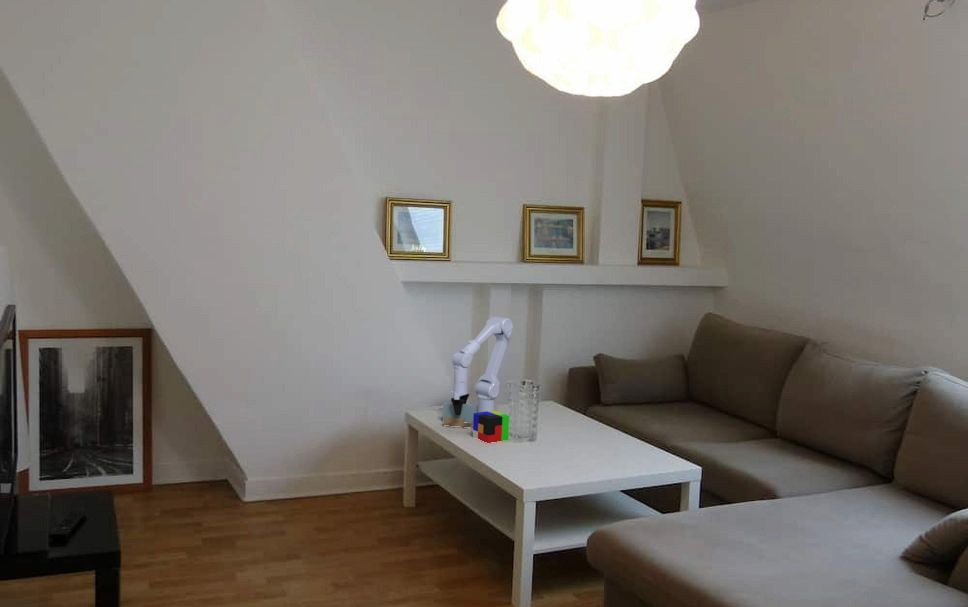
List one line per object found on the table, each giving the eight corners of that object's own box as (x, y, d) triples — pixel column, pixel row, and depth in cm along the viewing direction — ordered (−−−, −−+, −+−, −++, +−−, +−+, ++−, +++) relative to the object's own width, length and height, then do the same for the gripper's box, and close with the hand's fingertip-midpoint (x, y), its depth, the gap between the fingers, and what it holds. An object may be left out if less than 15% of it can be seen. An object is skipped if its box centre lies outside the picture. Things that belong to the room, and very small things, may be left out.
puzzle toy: (472, 437, 361) (473, 413, 360) (492, 434, 367) (493, 410, 366) (487, 444, 353) (488, 418, 352) (508, 440, 359) (509, 415, 358)
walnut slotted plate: (443, 426, 377) (443, 418, 376) (444, 425, 379) (444, 417, 378) (491, 430, 373) (491, 422, 373) (492, 429, 375) (492, 420, 375)
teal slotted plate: (442, 422, 384) (443, 403, 383) (443, 421, 386) (444, 402, 385) (475, 424, 382) (476, 406, 381) (476, 423, 383) (476, 405, 383)
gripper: (455, 377, 389) (454, 408, 391) (447, 383, 375) (446, 416, 377) (471, 378, 388) (470, 409, 390) (464, 385, 374) (463, 417, 376)
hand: (459, 413), depth 383 cm, fingers open, 7 cm apart
